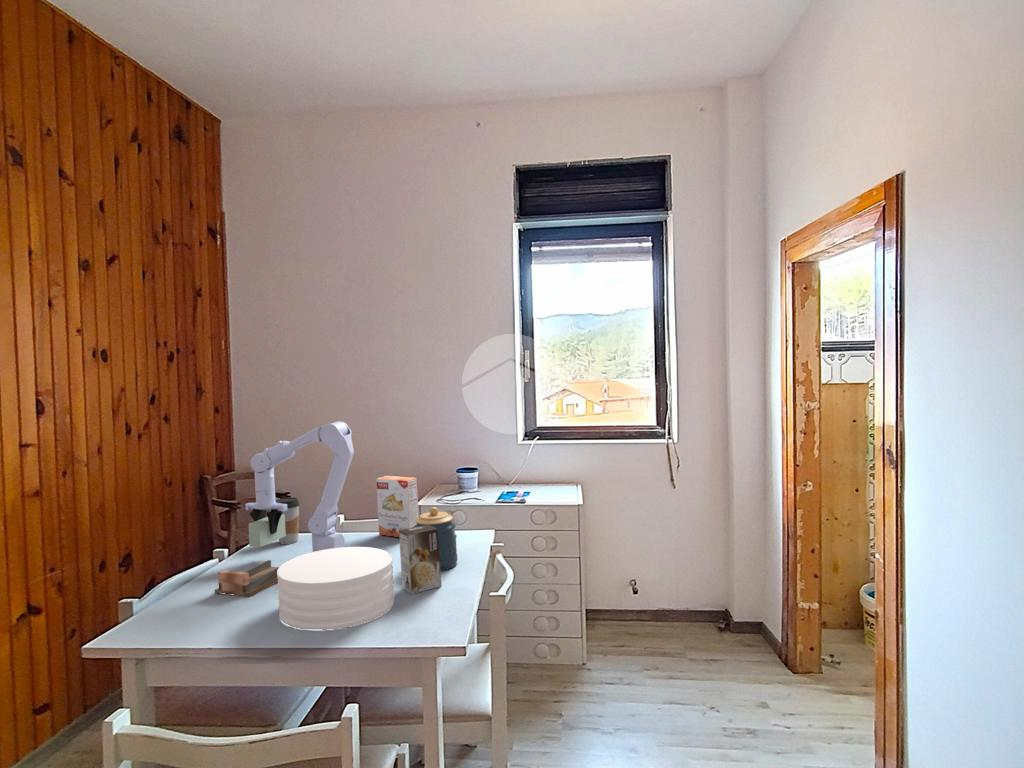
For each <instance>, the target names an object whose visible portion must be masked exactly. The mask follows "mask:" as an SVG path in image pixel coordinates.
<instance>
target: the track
mask: <svg viewBox="0 0 1024 768" xmlns="http://www.w3.org/2000/svg"><path fill="white" fill-rule="evenodd" d="M279 567H280V566H272V560H271V559H268V560H265V561H263V562H260V563H259V564H257V565H255V566H252V567H251V568H248V569H246V570H244V571H233V570H220V571H218V572H217V579H218V580H217V582H218V583H217V584H218V588H216V589H214V594H215V593H225V594H234V595H233V596H236V595H244V596H243V597H246V596H251V597H253V596H255V595H256V593H257V594H259V593H261V592H262V590H263V591H264V589H265V590H266V589H268V588H270V587H272V586H274V585H276V584H278V583H277V582H278V578H277V570H278V568H279ZM260 591H261V592H260ZM258 592H259V593H258ZM225 594H224V595H225ZM254 594H255V595H254ZM252 595H253V596H252Z"/></svg>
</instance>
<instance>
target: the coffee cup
mask: <svg viewBox="0 0 1024 768" xmlns="http://www.w3.org/2000/svg"><path fill="white" fill-rule="evenodd" d="M275 500H276V502H277V503H282V504H287V510H286V511H284V512H283V513H282V515H285V531H286V536H285V537H282V538H280V539H278V542H279V544H281V545H292V544H295V543H297V542H298V540H299V529H300V511H299V510H300V501H299V499H298V497H283V498H278V499H275Z"/></svg>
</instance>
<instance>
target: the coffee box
mask: <svg viewBox="0 0 1024 768" xmlns="http://www.w3.org/2000/svg"><path fill="white" fill-rule="evenodd" d="M398 541H399V550H400V551H399V553H400V571H401V587H402V589H403V588H404V589H403V590H404V591H406V590H407V591H406V592H408V593H409V594H410V595H414V594H413V593H415V594H417V592H418V593H421V591H422V592H425V590H426V591H428V590H429V591H430V590H433V589H436V588H440V587H442V571H441V569H440V552H439V536H438V528H435V527H433V526H430V525H424V526H419V527H414V528H409V529H404V530H399V539H398Z"/></svg>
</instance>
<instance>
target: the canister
mask: <svg viewBox="0 0 1024 768" xmlns="http://www.w3.org/2000/svg"><path fill="white" fill-rule="evenodd" d="M428 511H429V512H424V513H421V514H420V515H419V517H418V518H416V519H415V522H416V523H417V524H416V525H415V526H414V527H419V526H424V525H430V526H433V527H435V528H438V536H439V552H440V569H441V572H442V571H446V570H450V569H453V568H454V567H456V565H457V564H458V553H457V550H458V549H457V538H458V537H457V534H456V532H455V529H456V528H457V524H456V522H454V521H453V519H454V516H452V515H451V514H450V513H448V512H446V511H439V509H438V507H435V506H432V507H431V508H429V510H428ZM414 527H413V528H414Z"/></svg>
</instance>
